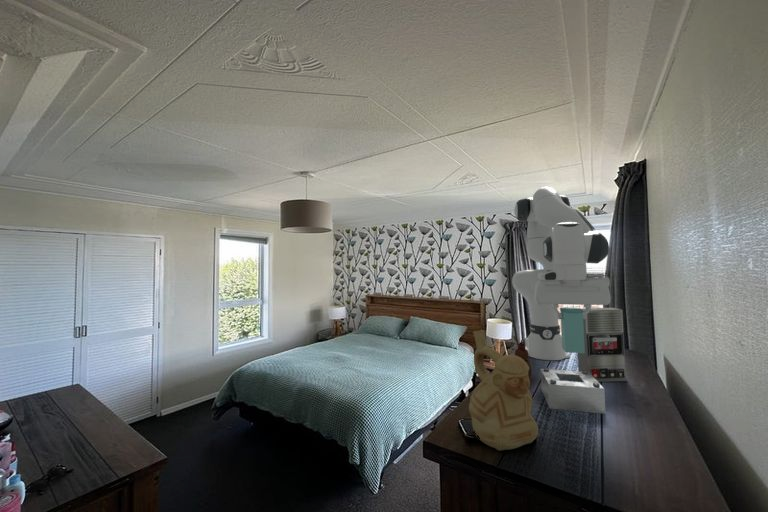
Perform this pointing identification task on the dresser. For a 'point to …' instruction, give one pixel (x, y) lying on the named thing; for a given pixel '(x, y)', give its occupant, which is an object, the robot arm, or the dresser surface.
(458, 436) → the dresser surface
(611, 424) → the dresser surface
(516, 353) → the wooden figurine
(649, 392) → the dresser surface
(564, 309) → the cover plug
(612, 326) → the cassette tape recorder
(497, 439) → the ceramic vessel
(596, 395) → the housing
